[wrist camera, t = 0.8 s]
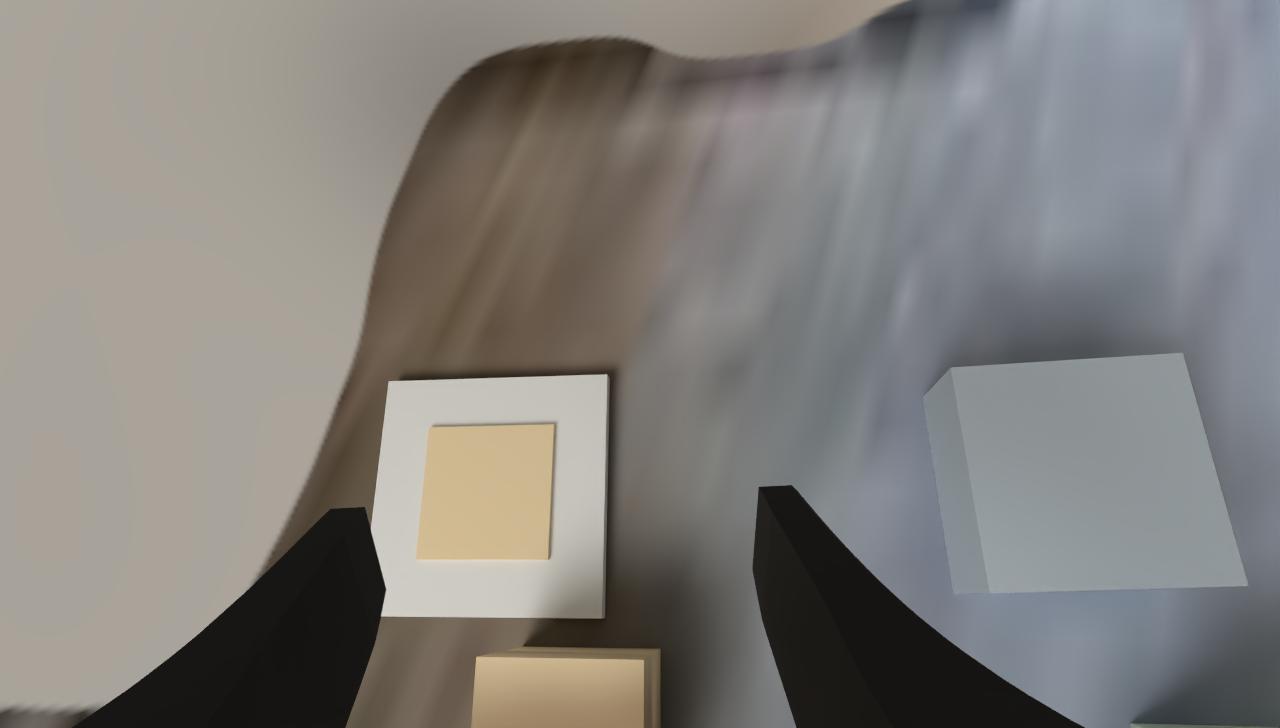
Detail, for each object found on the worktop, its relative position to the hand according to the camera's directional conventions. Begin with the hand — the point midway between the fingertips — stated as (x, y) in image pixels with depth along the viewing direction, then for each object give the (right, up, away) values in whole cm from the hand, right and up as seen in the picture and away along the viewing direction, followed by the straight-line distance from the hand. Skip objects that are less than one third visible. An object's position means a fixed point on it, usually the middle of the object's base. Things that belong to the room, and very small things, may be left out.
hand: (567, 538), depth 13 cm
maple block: (0, -9, +12) cm, 15 cm away
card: (-4, -2, +14) cm, 15 cm away
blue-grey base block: (+15, -1, +12) cm, 20 cm away
